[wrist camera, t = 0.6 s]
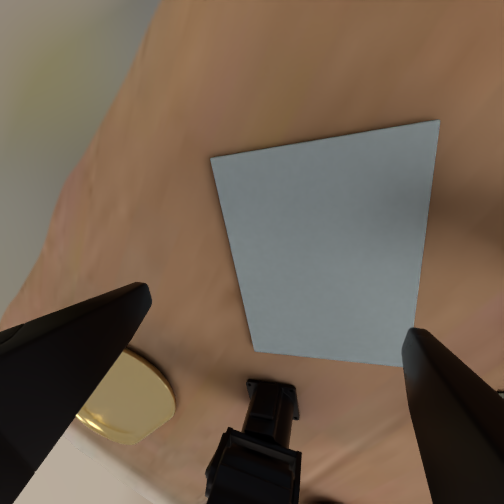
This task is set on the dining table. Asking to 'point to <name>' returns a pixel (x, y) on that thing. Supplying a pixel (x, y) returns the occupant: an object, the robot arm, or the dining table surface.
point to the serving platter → (129, 401)
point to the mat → (331, 240)
